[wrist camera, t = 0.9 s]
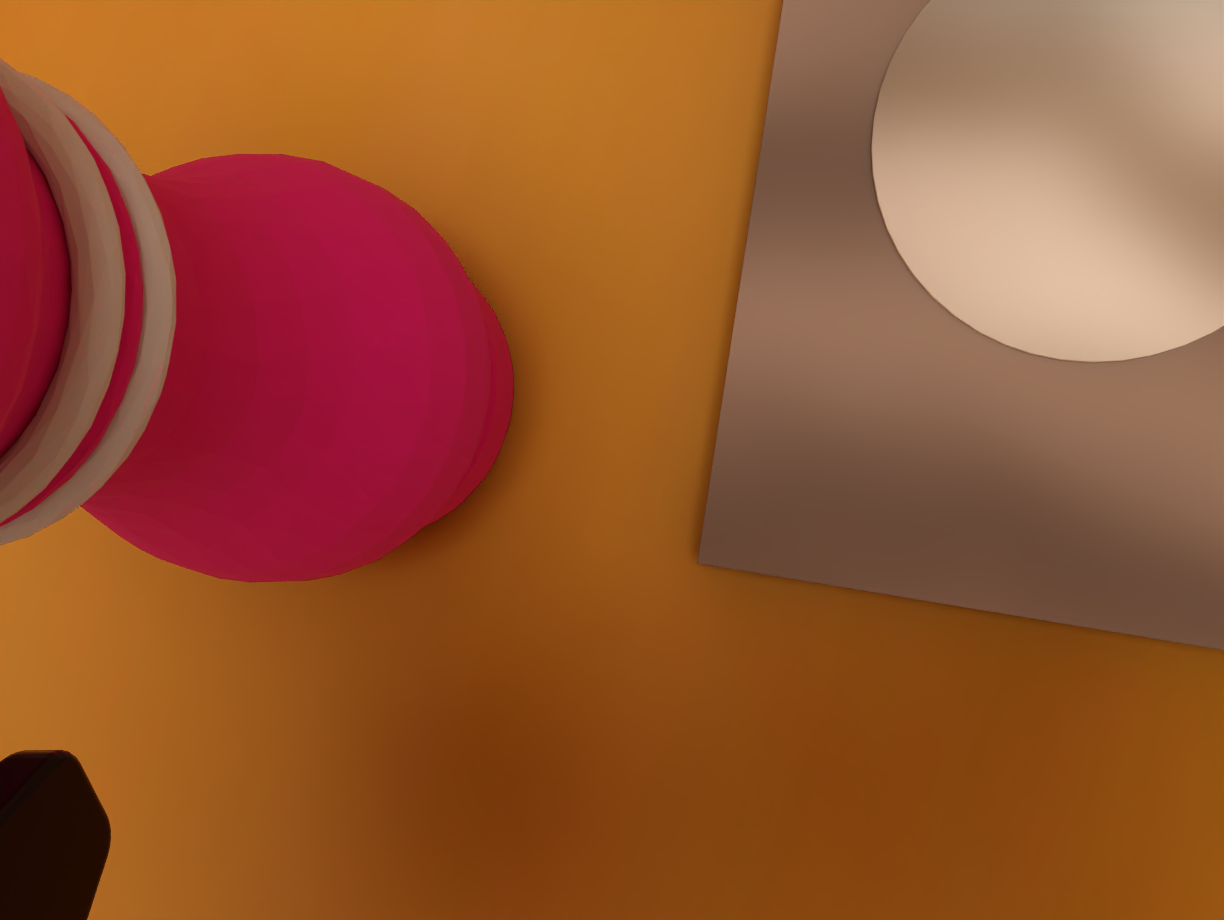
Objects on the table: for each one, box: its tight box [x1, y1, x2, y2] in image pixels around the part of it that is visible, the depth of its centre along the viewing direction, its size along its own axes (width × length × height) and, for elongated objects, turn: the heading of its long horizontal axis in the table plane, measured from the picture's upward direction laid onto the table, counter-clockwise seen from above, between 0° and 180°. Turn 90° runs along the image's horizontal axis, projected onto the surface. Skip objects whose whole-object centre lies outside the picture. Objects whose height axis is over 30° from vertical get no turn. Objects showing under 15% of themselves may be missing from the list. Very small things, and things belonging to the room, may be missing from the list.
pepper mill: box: [0, 59, 514, 582], centre depth 14 cm, size 7×7×20 cm
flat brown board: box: [697, 0, 1224, 650], centre depth 20 cm, size 14×12×4 cm
